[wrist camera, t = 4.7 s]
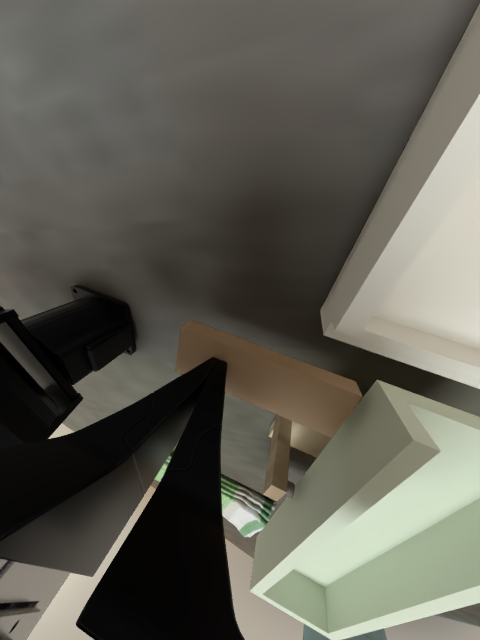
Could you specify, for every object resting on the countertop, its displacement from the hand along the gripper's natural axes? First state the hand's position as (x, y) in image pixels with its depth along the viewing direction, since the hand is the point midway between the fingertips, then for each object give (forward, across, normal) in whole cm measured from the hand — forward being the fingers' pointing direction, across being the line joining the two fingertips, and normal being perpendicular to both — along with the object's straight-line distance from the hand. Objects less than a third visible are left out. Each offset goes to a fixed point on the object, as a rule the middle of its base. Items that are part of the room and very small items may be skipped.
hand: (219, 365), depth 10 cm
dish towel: (+6, -1, +38) cm, 39 cm away
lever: (0, -6, +8) cm, 10 cm away
